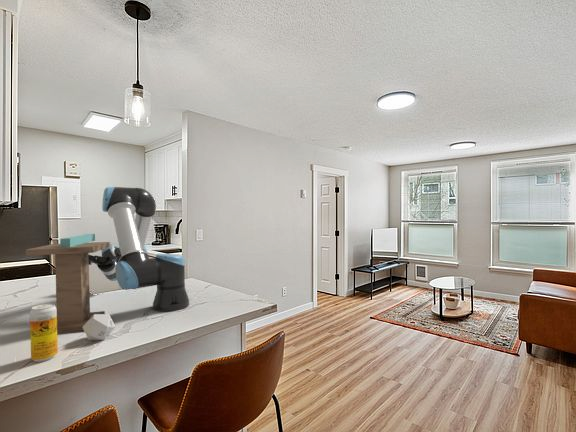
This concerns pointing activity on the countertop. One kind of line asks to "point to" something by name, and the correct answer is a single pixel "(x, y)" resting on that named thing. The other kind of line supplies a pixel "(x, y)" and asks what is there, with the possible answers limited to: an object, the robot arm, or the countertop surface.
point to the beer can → (43, 332)
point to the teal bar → (76, 240)
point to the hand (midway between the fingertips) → (94, 248)
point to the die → (99, 327)
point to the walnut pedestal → (71, 283)
